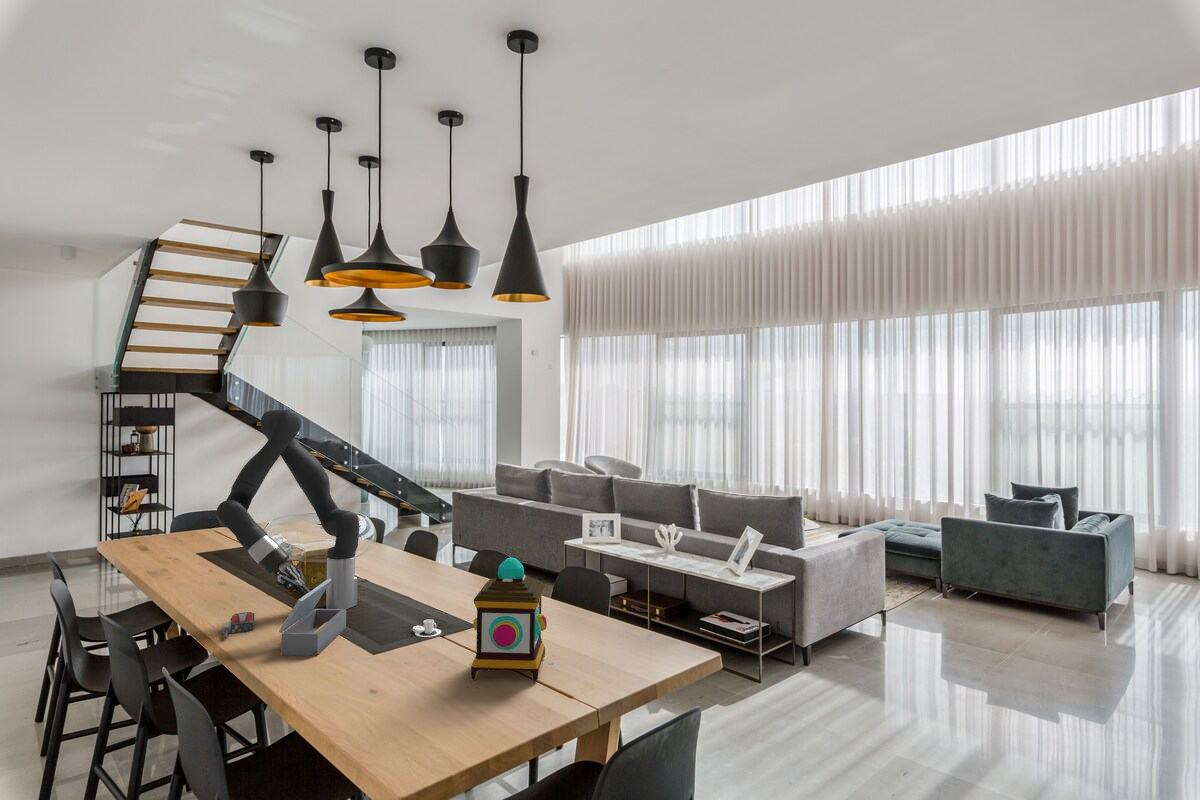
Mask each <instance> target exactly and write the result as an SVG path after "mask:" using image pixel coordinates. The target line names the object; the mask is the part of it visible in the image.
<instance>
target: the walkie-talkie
mask: <svg viewBox="0 0 1200 800" xmlns="http://www.w3.org/2000/svg"><path fill="white" fill-rule="evenodd" d="M255 624H256V621H255V612H252V611H243V612H239V613H234V614H233V615H231V617H230V620H228V621H227V622H224V623H223V626H222V629H221V630H222V634H223V639H225V640H227V638H228V637H229V636H228V634H229V633H231V634H234V633H244V632H252V631H254V630H255V627H256V625H255Z"/></svg>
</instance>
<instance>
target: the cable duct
mask: <svg viewBox="0 0 1200 800" xmlns="http://www.w3.org/2000/svg"><path fill="white" fill-rule="evenodd" d="M346 628H347V609H327V608H314V609H312V610H311V611H310V612H308V613H307V614H306V615H305V616H303V617H302V618H301V619H299V620H298V621H297V622H296V623H294V624H293V625H292V626H290V627H289V628H288V629H287V630H285V631H284V632H283V633H281V639H280V640H281V642H280V643H281V645H280V647H281V649H280V650H281V651H280V656H284V657H285V656H286V657H288V656H292V657H293V656H296V657H299V656H301V657H306V656H307V657H308V656H309V657H312V656H313V657H315V656H316V657H317V656H320V654H321V653H322V652H324V650H325V649H326V648H327V647H328V646H329V645H330V644H331V643H332V642H333V641H335V639H337V637H339V635H341V634H342V633H343V632H344V631H345V630H346Z"/></svg>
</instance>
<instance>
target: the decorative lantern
mask: <svg viewBox="0 0 1200 800" xmlns="http://www.w3.org/2000/svg"><path fill="white" fill-rule="evenodd" d="M545 590H546V585H545V584H544V583H543V582H542V581H540V580H539V579H533V578H532V577H530V576H529V575H526V572H525V569H524V565H523V564H522V563H521V562H520V561H519V560H518V559H517V558H514V557H508V558H506V559H505V560H503V561H502V563H500V564H499V566H498V570H497V576H496V577H495V578H489V580H488V581H487V582H486V583H485V584H484V585H483V586H482V588H481V589H480V590H479V592H478V593H477V594H476V596H475V597H474V598H473V604H474V606H475V608H476V617H475V618H474V619H473V623H472V624H473V629H474V630H475V631H476V650H475V652H476V655H475V657H474V659H473V661H472V664H471V667H470V676H471V677H470V679H472V681H475V680H477V678H478V674H479V673H478V672H479V671H493V672H494V671H498V672H500V671H501V672H502V671H503V672H528V673H530V674H531V676H532V681H533V682H534V683H535V682H537V681H538V678H539V669H540V666H541V663H542V659H543V660H544V659H545V657H546V656H545V655H546V646H545V644H544V642H543V640H542V631H545V630H547V625H548V624H547V622H548V621H547V618H546V616H545V615H544V614H542V597H543V594H544V592H545Z"/></svg>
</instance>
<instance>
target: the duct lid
mask: <svg viewBox="0 0 1200 800" xmlns="http://www.w3.org/2000/svg"><path fill="white" fill-rule="evenodd" d="M330 582H331V579H330V578H329V579H327V578H326V580H324V581H323V582H321V583H320V584H318V585H317V586H316V587H315V588H313V589H312V590H310V592H309V593H307V594H306V595H304V596H303V597H302V596H301V598H298V599H297V601H296V603H295V604H294V606H293V607H292V609H291V611H290V613H289V614H288V616H287V617H286V619H285V620H284V622H283V624H282V625H281V627H280V628H279V630H278V632H279V633H281V634H282V633H284V632H285V631H286V630H287V629H289V628H290V627H291V626H293V625H294V624H295V623H296V622H298V621H299V620H300V619H302V618H303V617H304V616H305V615H307V614H308V613H309V612H311V611H312V610H313V609H315V608H316V606H317V604H318V603H319V601H320V599H322V596H323V595H324V593H326V588H327V587H328V585H329V584H330Z"/></svg>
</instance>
